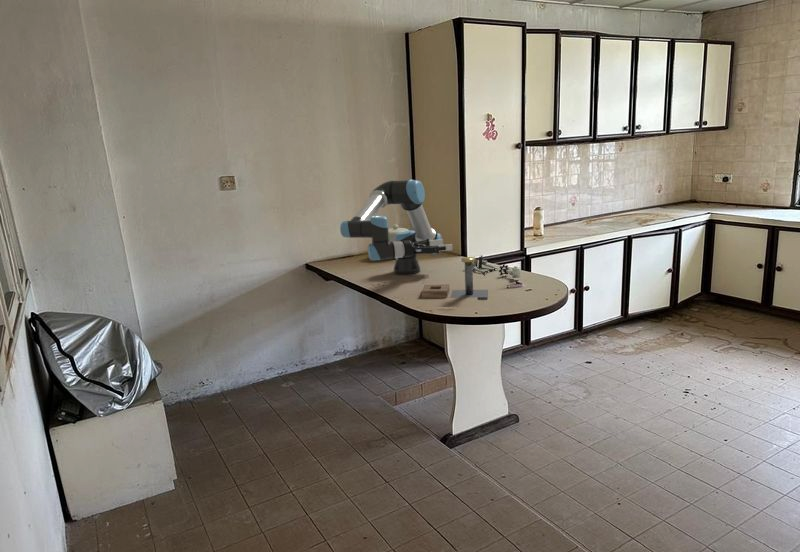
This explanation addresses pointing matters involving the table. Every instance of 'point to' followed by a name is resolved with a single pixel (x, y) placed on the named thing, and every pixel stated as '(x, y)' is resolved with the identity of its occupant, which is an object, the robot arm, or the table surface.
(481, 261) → the bike brake
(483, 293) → the mat
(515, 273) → the valve
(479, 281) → the table surface
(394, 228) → the canister
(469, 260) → the brass topped pillar
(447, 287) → the eye block
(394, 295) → the table surface
